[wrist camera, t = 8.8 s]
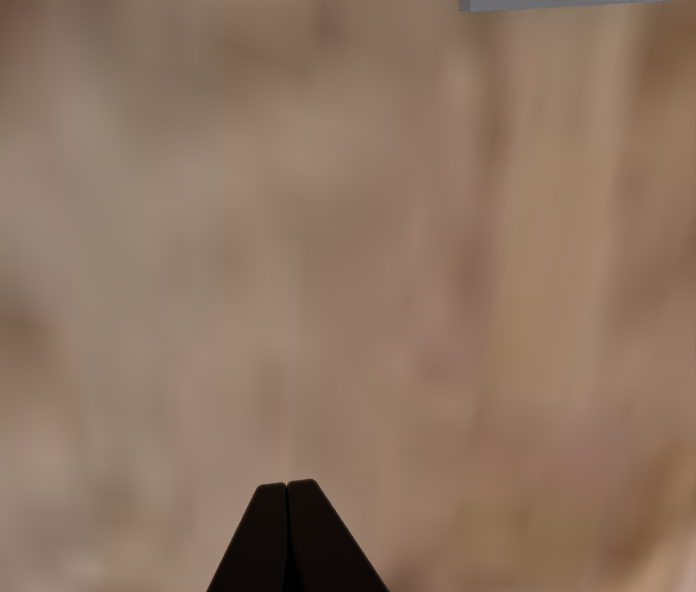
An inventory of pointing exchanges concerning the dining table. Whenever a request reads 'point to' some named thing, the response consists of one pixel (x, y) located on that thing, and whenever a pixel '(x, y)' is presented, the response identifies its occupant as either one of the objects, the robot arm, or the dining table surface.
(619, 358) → the dining table surface
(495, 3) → the dial board
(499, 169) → the dining table surface
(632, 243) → the dining table surface
